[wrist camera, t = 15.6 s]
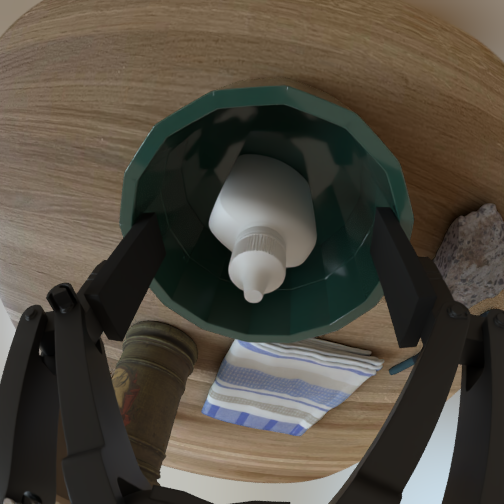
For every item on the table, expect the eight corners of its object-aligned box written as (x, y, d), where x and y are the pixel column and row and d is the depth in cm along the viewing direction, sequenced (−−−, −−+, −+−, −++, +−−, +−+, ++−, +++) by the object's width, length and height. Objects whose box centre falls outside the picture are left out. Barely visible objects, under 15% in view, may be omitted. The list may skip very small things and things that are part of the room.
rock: (413, 289, 26) (425, 320, 23) (458, 188, 20) (482, 211, 17) (476, 297, 26) (490, 324, 23) (521, 211, 20) (544, 234, 17)
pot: (160, 91, 19) (90, 114, 12) (372, 79, 17) (428, 94, 10) (192, 259, 27) (161, 337, 20) (360, 258, 25) (382, 340, 18)
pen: (494, 307, 27) (498, 314, 26) (391, 370, 35) (392, 378, 34) (493, 303, 27) (496, 309, 26) (387, 367, 34) (389, 375, 33)
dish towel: (386, 350, 32) (390, 370, 30) (300, 426, 45) (300, 440, 43) (244, 312, 30) (240, 333, 28) (199, 404, 44) (196, 419, 41)
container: (208, 340, 33) (171, 494, 19) (185, 373, 38) (152, 496, 24) (135, 307, 32) (69, 454, 17) (124, 346, 37) (75, 466, 22)
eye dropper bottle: (269, 223, 24) (253, 351, 14) (221, 167, 21) (164, 272, 12) (317, 193, 22) (338, 316, 12) (270, 132, 20) (252, 213, 10)
